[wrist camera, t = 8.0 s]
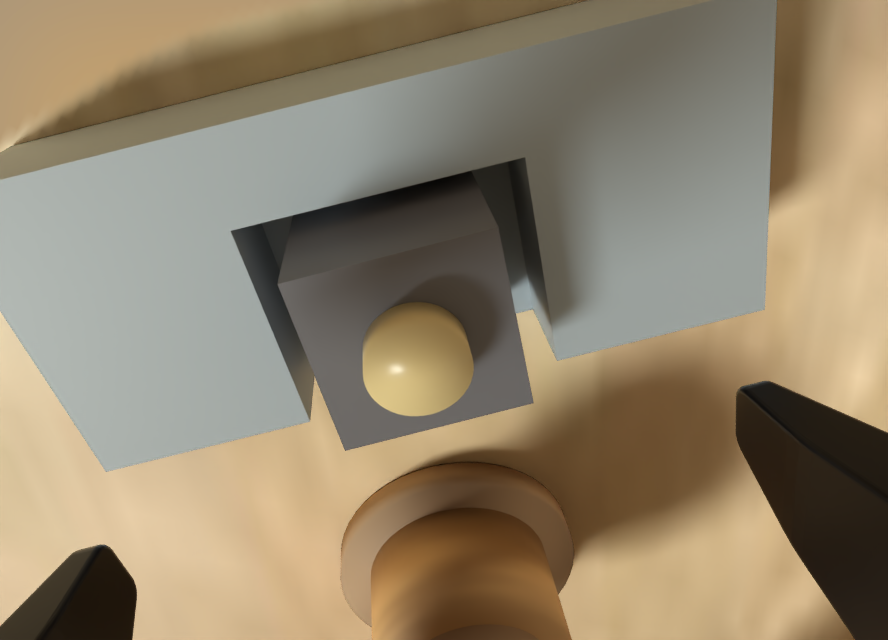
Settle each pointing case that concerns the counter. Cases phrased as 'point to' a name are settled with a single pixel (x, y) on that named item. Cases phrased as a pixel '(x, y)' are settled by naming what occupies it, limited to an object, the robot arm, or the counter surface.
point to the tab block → (405, 310)
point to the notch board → (381, 170)
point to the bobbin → (459, 557)
